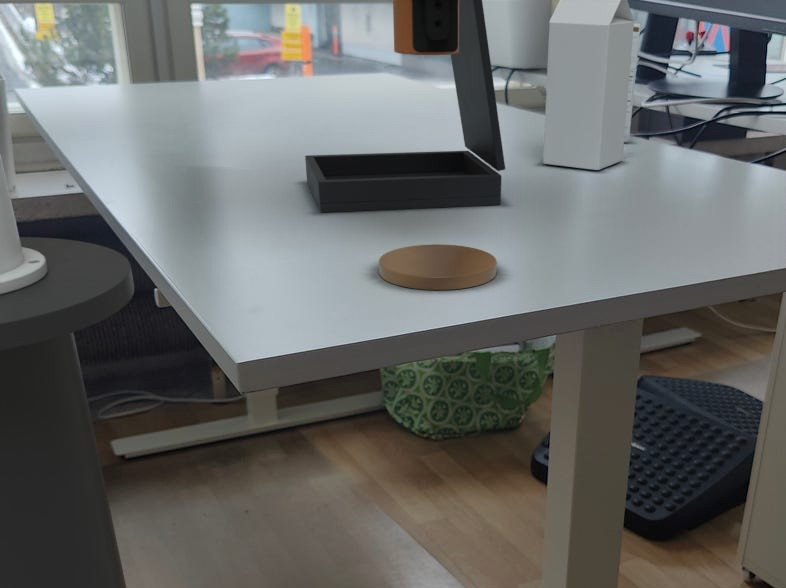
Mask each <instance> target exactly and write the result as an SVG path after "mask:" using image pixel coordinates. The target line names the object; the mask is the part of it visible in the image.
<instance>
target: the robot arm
mask: <svg viewBox="0 0 786 588" xmlns="http://www.w3.org/2000/svg"><path fill="white" fill-rule="evenodd" d="M412 40H413V49H414V50H415V51H417V52H454V51H456V50H457V48H458V0H412ZM4 168H5V167H4V163H3V159H2V155H1V153H0V295H2V294H6V293H9V292H13V291H17V290H19V289H22V288H25V287H28V286H30V285H32V284H34V283H36V282H38V281H39V280H40V279H42V278H43V277H44V276H45V275H46V273H47V272H48V270H47V264H46V259H45V257H44V255H42V254H41V253H39V252H38V251H35V250H32V249H29V248H24V247H21V243H20V238H19V237H20V235H19V229H18V226H17V220H16V215H15V211H14V208H13V203H12V198H11V193H10V190H9V186H8V180H7V177H6V172H5V169H4Z"/></svg>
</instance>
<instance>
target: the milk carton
mask: <svg viewBox="0 0 786 588" xmlns="http://www.w3.org/2000/svg"><path fill="white" fill-rule="evenodd" d="M634 21H635V20H634V17H633V14H632V10H631V7H630V4H629V1H628V0H559V1H558V3H557V4H556V7H555V9H554V11H553V13H552V15H551V17H550V19H549V21H548V22H549V24H548V45H547V47H548V48H547V70H546V91H545V113H544V114H545V115H544V133H543V157H542V158H543V160H542V163H543V164H545V165H551V166H560V167H568V168H577V169H584V170H591V171H592V170H594V171H600V170H602V169H604V168H607V167H609V166H612V165H615V164H617V163H620V162H622V161H623V158H624V157H623V156H624V146H625V145H624V144H625V142H624V134H625V123H626V111H627V99H628V87H629V76H630V64H631V52H632V40H633V28H634Z"/></svg>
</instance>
